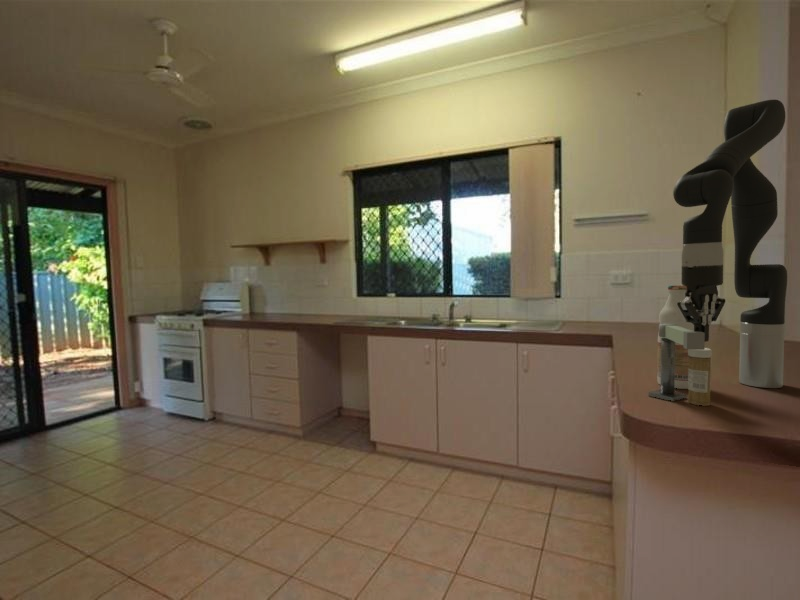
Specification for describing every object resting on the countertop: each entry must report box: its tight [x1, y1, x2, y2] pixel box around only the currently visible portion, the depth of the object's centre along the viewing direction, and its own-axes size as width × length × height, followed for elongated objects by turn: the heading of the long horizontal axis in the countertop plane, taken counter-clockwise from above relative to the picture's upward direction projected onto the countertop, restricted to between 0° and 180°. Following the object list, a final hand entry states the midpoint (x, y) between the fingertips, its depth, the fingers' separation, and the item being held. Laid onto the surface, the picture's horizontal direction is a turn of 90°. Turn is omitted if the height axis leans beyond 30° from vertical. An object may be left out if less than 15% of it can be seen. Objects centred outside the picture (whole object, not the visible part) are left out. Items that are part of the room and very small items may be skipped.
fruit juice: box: [656, 284, 694, 390], centre depth 117 cm, size 9×9×28 cm
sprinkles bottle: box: [687, 347, 713, 407], centre depth 100 cm, size 5×5×14 cm
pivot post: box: [648, 338, 687, 402], centre depth 106 cm, size 6×6×15 cm
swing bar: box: [658, 323, 705, 350], centre depth 98 cm, size 20×4×4 cm, turn 164°
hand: (701, 341), depth 94 cm, fingers closed
